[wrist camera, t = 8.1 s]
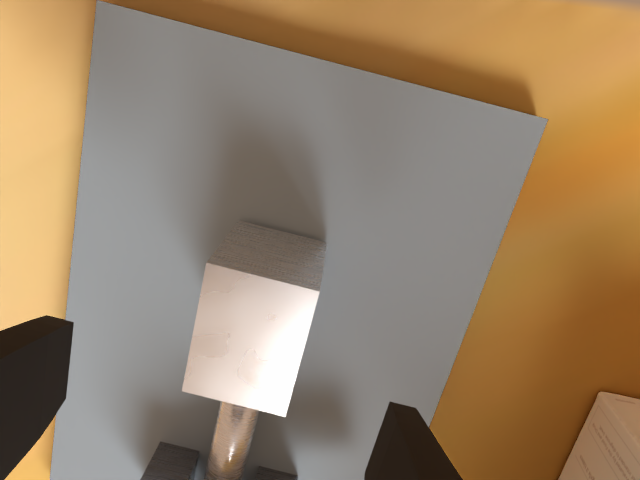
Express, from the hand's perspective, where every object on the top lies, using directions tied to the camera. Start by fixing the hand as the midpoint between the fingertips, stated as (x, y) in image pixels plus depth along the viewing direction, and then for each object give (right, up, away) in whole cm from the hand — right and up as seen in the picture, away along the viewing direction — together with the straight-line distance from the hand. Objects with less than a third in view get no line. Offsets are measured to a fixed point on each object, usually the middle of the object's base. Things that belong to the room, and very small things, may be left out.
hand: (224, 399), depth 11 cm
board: (0, 0, +8) cm, 8 cm away
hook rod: (-1, -2, +8) cm, 8 cm away
